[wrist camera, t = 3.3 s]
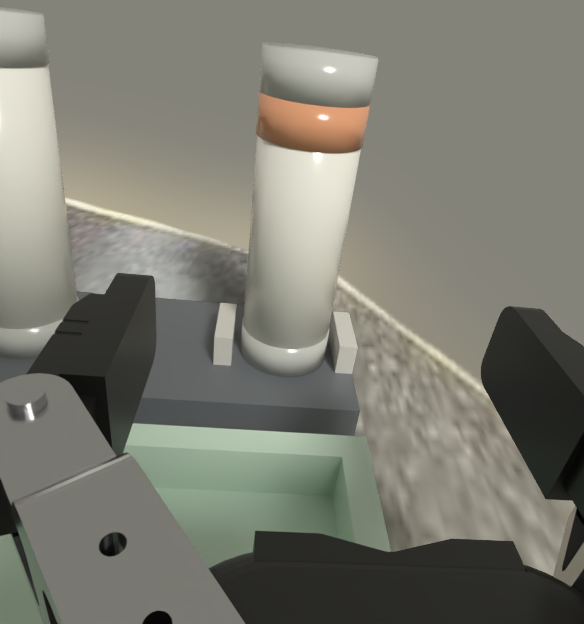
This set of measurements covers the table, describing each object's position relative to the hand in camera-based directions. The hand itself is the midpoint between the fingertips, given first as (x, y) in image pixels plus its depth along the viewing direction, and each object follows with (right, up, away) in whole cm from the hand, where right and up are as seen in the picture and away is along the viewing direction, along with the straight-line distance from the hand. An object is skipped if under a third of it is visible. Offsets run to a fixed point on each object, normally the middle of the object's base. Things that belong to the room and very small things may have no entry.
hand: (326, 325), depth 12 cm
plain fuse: (-13, -1, +12) cm, 17 cm away
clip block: (-7, -2, +13) cm, 15 cm away
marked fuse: (-1, -2, +13) cm, 13 cm away
